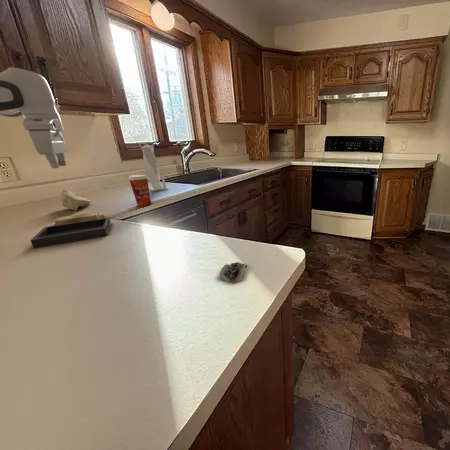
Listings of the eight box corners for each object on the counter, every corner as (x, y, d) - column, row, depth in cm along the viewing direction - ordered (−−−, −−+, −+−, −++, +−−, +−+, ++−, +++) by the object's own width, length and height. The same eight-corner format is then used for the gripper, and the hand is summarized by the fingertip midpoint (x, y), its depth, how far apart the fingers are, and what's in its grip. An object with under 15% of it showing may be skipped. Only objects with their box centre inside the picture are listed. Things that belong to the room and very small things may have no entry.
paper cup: (140, 208, 112) (132, 177, 108) (132, 205, 116) (124, 176, 111) (157, 204, 119) (150, 175, 114) (148, 202, 122) (142, 174, 118)
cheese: (74, 209, 120) (39, 195, 106) (84, 196, 122) (51, 182, 108) (94, 221, 116) (60, 209, 102) (104, 209, 118) (72, 195, 104)
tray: (33, 248, 72) (30, 240, 71) (47, 234, 83) (45, 226, 82) (107, 235, 81) (104, 228, 80) (111, 224, 92) (109, 217, 91)
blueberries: (246, 263, 61) (245, 256, 61) (251, 279, 54) (251, 271, 53) (218, 268, 59) (217, 261, 58) (220, 285, 52) (219, 278, 51)
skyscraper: (153, 192, 146) (142, 142, 136) (146, 190, 150) (135, 142, 141) (167, 189, 153) (157, 142, 143) (160, 188, 157) (150, 142, 147)
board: (56, 226, 89) (54, 220, 88) (60, 222, 93) (58, 217, 92) (97, 220, 95) (96, 215, 94) (99, 216, 99) (98, 212, 98)
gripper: (42, 126, 89) (56, 165, 94) (19, 123, 72) (37, 170, 77) (65, 126, 92) (77, 163, 97) (48, 123, 75) (64, 168, 80)
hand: (59, 166), depth 87 cm, fingers open, 8 cm apart
